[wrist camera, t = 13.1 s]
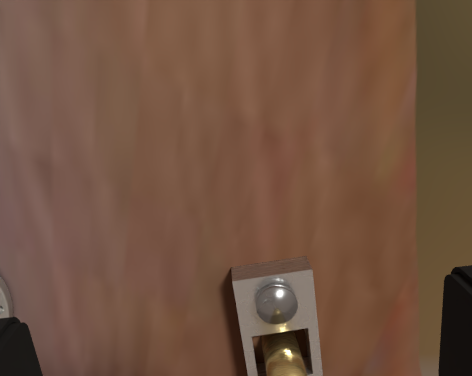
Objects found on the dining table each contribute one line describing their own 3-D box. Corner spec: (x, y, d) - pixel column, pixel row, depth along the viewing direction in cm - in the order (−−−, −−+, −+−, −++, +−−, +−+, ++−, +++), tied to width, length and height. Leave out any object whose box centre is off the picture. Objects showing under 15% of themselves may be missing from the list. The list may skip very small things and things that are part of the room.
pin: (283, 357, 43) (298, 424, 35) (254, 343, 42) (263, 408, 34) (302, 332, 42) (321, 395, 34) (273, 317, 41) (286, 378, 34)
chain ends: (321, 400, 45) (329, 429, 41) (254, 410, 45) (258, 440, 41) (306, 256, 39) (314, 275, 36) (231, 267, 39) (232, 287, 36)
